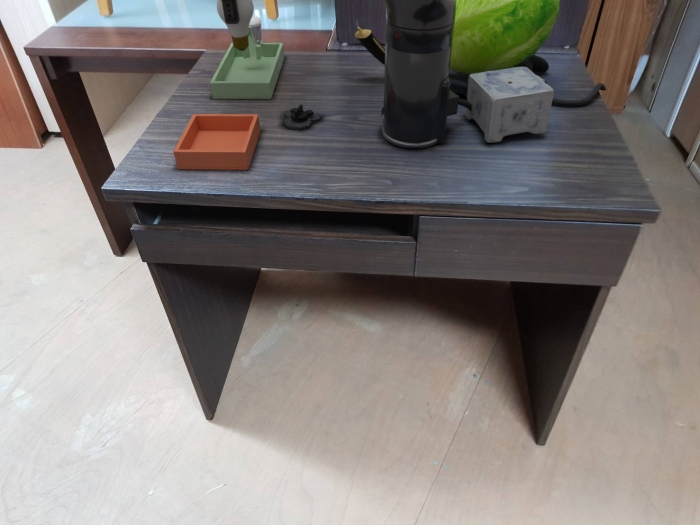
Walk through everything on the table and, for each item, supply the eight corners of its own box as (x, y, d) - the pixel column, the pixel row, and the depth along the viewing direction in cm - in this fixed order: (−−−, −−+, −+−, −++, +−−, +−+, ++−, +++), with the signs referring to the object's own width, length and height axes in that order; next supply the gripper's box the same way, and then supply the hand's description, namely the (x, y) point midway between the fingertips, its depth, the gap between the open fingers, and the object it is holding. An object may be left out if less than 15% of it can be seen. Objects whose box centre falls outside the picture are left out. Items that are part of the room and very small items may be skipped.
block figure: (274, 113, 86) (288, 97, 90) (276, 126, 88) (289, 111, 92) (310, 117, 85) (322, 102, 89) (311, 131, 86) (323, 115, 90)
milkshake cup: (269, 59, 107) (263, 5, 100) (263, 70, 103) (256, 15, 96) (246, 59, 107) (238, 5, 101) (239, 70, 103) (231, 14, 97)
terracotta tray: (260, 131, 87) (258, 114, 85) (248, 169, 78) (245, 152, 76) (196, 130, 87) (193, 113, 85) (177, 169, 79) (173, 151, 77)
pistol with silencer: (488, 47, 83) (495, 93, 92) (357, 17, 95) (375, 60, 104) (475, 68, 82) (483, 113, 92) (344, 36, 94) (363, 78, 103)
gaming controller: (529, 80, 104) (507, 52, 101) (551, 65, 101) (528, 35, 99) (528, 105, 96) (503, 75, 94) (551, 89, 93) (526, 58, 91)
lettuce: (450, 117, 95) (446, 70, 106) (583, 52, 85) (564, 6, 95) (409, 51, 87) (408, 6, 97) (551, -32, 76) (534, -73, 86)
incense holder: (517, 115, 91) (458, 116, 89) (531, 65, 86) (470, 64, 84) (545, 142, 84) (482, 144, 82) (562, 90, 79) (496, 90, 77)
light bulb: (220, 47, 95) (209, -15, 88) (253, 41, 97) (244, -20, 90) (230, 59, 91) (218, -5, 84) (263, 53, 93) (255, -11, 86)
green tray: (284, 57, 109) (283, 42, 107) (271, 99, 95) (269, 82, 93) (233, 57, 109) (231, 42, 107) (212, 98, 95) (209, 82, 94)
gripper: (233, -97, 74) (251, 31, 85) (252, -114, 84) (266, 2, 96) (178, -96, 74) (203, 32, 85) (203, -113, 85) (223, 3, 96)
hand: (236, 16), depth 90 cm, fingers closed on light bulb, 6 cm apart
